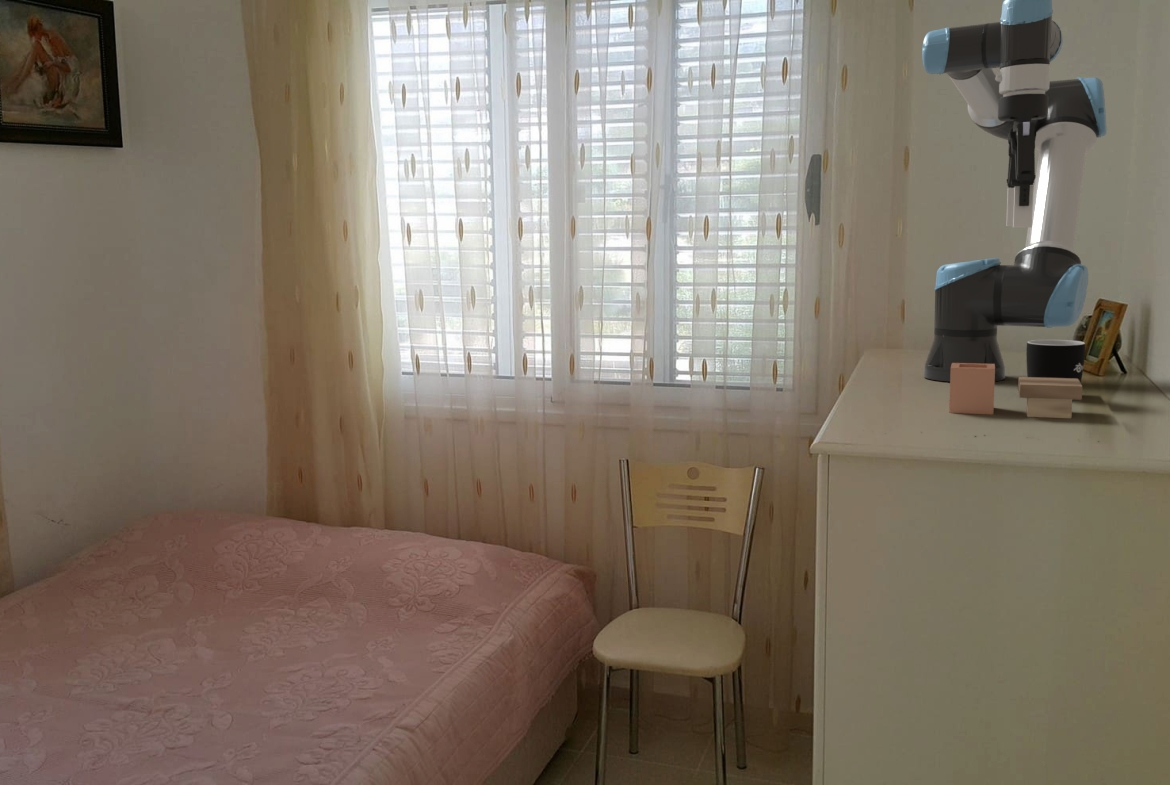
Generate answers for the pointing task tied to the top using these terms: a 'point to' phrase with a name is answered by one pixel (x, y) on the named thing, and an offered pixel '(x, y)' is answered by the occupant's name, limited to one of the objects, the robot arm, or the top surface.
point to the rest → (1049, 408)
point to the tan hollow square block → (972, 388)
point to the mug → (1055, 359)
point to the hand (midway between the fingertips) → (1018, 227)
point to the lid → (1050, 388)
